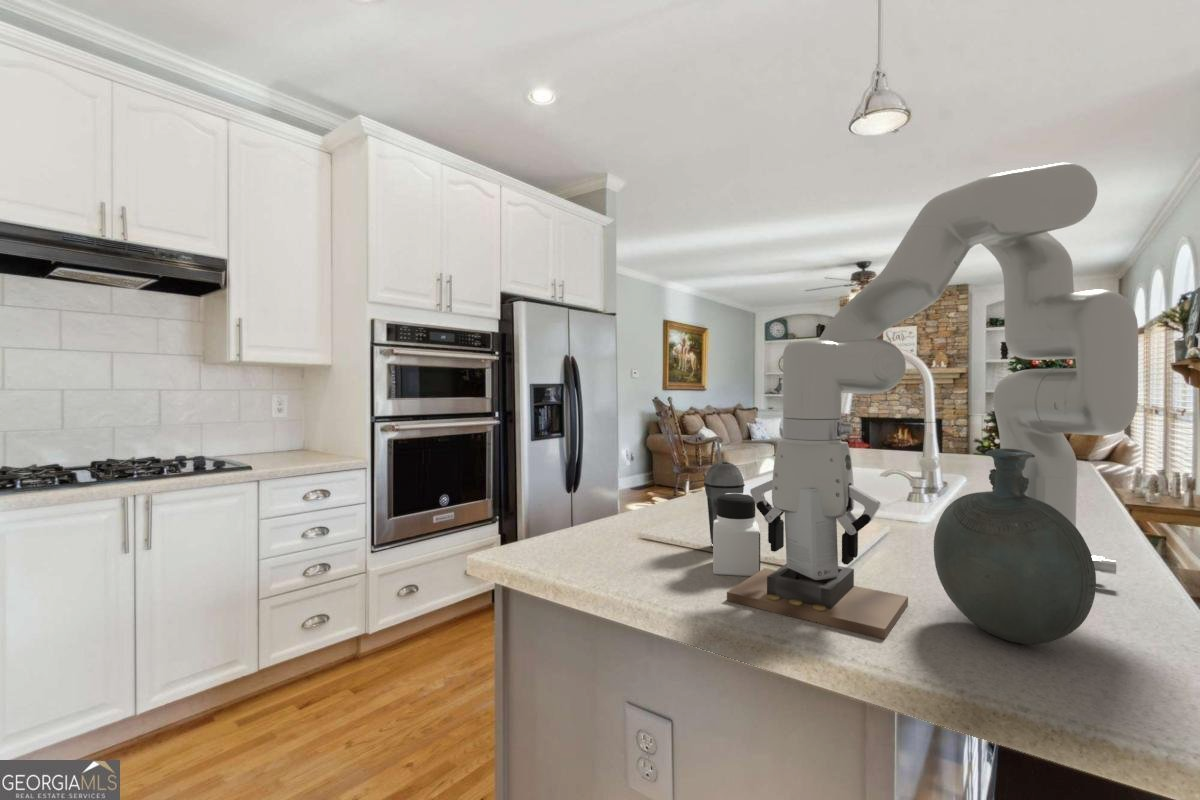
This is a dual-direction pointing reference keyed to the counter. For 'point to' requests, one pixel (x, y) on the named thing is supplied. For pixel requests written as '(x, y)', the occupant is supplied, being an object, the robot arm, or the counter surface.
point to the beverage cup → (721, 485)
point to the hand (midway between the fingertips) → (811, 555)
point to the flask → (1014, 559)
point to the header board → (822, 600)
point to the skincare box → (811, 538)
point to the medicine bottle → (736, 536)
